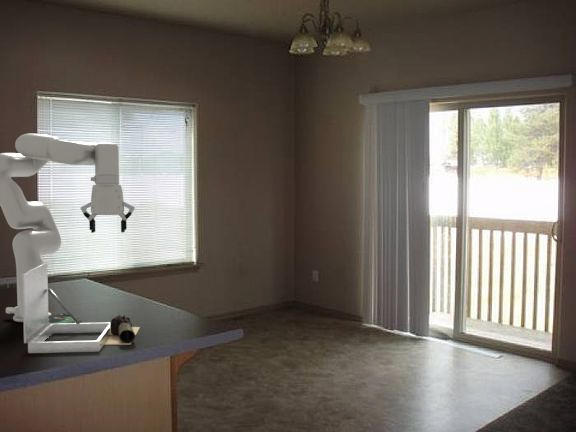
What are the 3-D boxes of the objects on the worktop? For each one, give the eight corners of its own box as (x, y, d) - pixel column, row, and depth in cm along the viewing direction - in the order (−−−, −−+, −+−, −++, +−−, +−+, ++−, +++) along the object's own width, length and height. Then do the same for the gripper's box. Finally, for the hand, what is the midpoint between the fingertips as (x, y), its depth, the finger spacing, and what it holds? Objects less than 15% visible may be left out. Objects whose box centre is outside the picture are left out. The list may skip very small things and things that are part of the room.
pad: (103, 345, 189) (103, 343, 189) (115, 328, 209) (115, 327, 209) (130, 344, 190) (130, 343, 190) (139, 328, 209) (139, 326, 209)
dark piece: (135, 343, 190) (135, 324, 190) (112, 345, 188) (112, 326, 188) (130, 328, 207) (130, 312, 206) (109, 330, 205) (109, 313, 204)
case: (24, 353, 180) (22, 274, 179) (47, 332, 203) (45, 262, 202) (99, 351, 182) (97, 273, 181) (113, 331, 205) (112, 261, 204)
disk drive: (34, 325, 216) (53, 332, 205) (34, 317, 215) (53, 324, 205) (63, 320, 223) (83, 327, 212) (63, 312, 223) (82, 319, 212)
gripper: (77, 180, 201) (78, 233, 203) (132, 180, 203) (133, 233, 204) (82, 180, 209) (84, 231, 210) (135, 180, 210) (136, 230, 212)
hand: (108, 232), depth 207 cm, fingers open, 9 cm apart
